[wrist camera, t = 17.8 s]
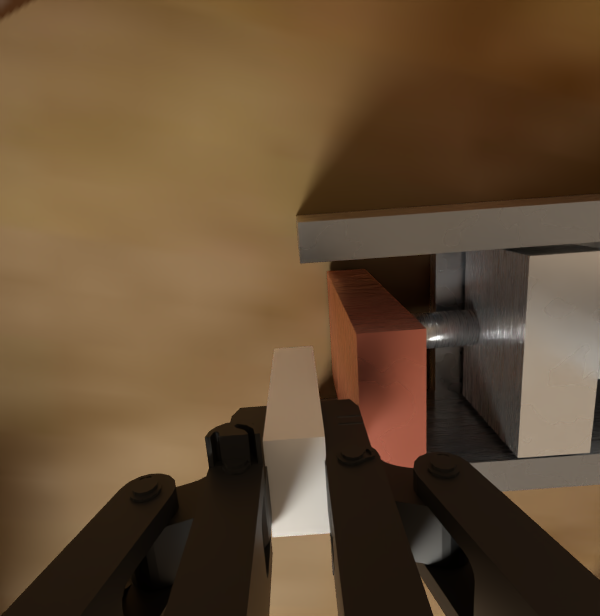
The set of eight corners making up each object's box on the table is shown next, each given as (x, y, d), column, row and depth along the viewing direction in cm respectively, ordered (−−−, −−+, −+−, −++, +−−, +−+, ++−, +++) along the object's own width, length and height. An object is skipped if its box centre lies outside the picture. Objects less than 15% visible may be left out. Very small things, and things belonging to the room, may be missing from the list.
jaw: (333, 395, 25) (364, 544, 14) (325, 248, 23) (354, 292, 12) (508, 383, 25) (671, 522, 14) (515, 234, 23) (713, 266, 12)
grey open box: (310, 423, 26) (317, 504, 19) (295, 215, 23) (297, 222, 16) (650, 399, 25) (779, 471, 19) (679, 187, 23) (846, 182, 16)
